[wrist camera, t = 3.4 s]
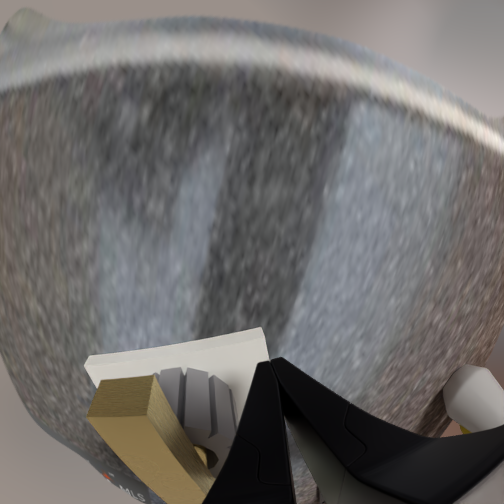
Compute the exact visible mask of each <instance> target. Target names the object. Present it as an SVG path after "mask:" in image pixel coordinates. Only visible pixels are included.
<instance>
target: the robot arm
mask: <svg viewBox="0 0 504 504" xmlns="http://www.w3.org/2000/svg"><path fill="white" fill-rule="evenodd" d="M284 417H285V419H284ZM285 420H286V422H287V425H288V427H289V429H290V431H291V433H292V435H293V437H294V439H295V442H296V444H297V446H298V448H299V450H300V452H301V454H302V456H303V458H304V460H305V462H306V464H307V466H308V468H309V470H310V472H311V474H312V476H313V478H314V480H315V482H316V484H317V486H318V488H319V504H323V503H326V504H504V424H503V425H501V426H498V427H495V428H492V429H488V430H483V431H478V432H473V433H468V434H462V435H456V436H450V437H442V438H431V437H425V436H421V435H418V434H416V433H413V432H410V431H408V430H405V429H403V428H400V427H398V426H395V425H393V424H390V423H388V422H386V421H383V420H381V419H379V418H377V417H375V416H373V415H371V414H369V413H367V412H365V411H364V410H362V409H360V408H358V407H357V406H355V405H354V404H352V403H350V402H349V401H347V400H345V399H344V398H342V397H341V396H339V395H338V394H336V393H335V392H333V391H331V390H330V389H328V388H327V387H325V386H324V385H322V384H321V383H319V382H318V381H316V380H315V379H313V378H312V377H310V376H309V375H307V374H306V373H304V372H303V371H302V370H300V369H299V368H297V367H296V366H294V365H293V364H291V363H290V362H289V361H287V360H286V359H284V358H283V357H279V358H275V359H271V360H270V361H269V360H267V361H263V362H259V363H257V365H256V369H255V372H254V375H253V379H252V382H251V385H250V389H249V392H248V395H247V399H246V402H245V405H244V408H243V411H242V415H241V418H240V421H239V424H238V427H237V430H236V435H235V436H234V439H233V442H232V445H231V448H230V450H229V453H228V456H227V458H226V460H225V462H224V464H223V466H222V468H221V470H220V472H219V474H218V476H217V477H216V479H215V481H214V483H213V485H212V486H211V488H210V490H209V492H208V493H207V495H206V497H205V499H204V500H203V502H202V503H201V504H297V503H296V496H295V489H294V481H293V474H292V467H291V460H290V453H289V446H288V439H287V432H286V425H285Z"/></svg>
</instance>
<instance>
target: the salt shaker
mask: <svg viewBox="0 0 504 504" xmlns="http://www.w3.org/2000/svg"><path fill="white" fill-rule="evenodd" d="M443 399H444V402H445V407H446V411H447V414H448V415H449V417H450V418H451V419H453V420H454V421H456V422H457V423H458V424H460V425H461V426H463V427H464V428H466V429H467V430H469V431H470V432H472V433H473V432H478V431H483V430H488V429H492V428H495V427H498V426H501V425H503V424H504V390H503V389H502V388H501V386H500V385H499V383H498V382H497V381H496V379H495V378H494V377H493V375H492V374H491V372H490V371H489V370H488V369H486V368H483V367H477V366H473V365H468V364H465V365H464V366H462V367H461V368H460V369H458V370H457V371H456V372H454V373H453V375H452V376H451V378H450V379H449V380H448V382H447V383H446V385H445V386H444V388H443Z"/></svg>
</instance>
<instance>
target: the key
mask: <svg viewBox="0 0 504 504" xmlns="http://www.w3.org/2000/svg"><path fill="white" fill-rule="evenodd" d="M86 418H87V419H88V420H89V422H90V423H91V424H92V425H93V427H94V428H95V429H96V431H97V432H98V433H99V434H100V436H101V437H102V438H103V439H104V440H105V442H106V443H107V444H108V445H109V446H110V448H111V449H112V450H113V451H114V452H115V453H116V454H117V455H118V457H119V458H120V459H121V460H122V461H123V462H124V463H125V464H126V465H127V466H128V467H129V468H130V469H131V470H132V471H133V472H134V473H135V474H136V475H137V476H138V477H139V478H140V479H141V480H142V481H143V482H144V483H145V484H146V485H147V486H148V487H149V488H150V489H151V490H152V491H153V492H155V493H156V494H157V495H158V496H159V497H160V498H161V499H162V500H164V501H165V502H166V503H167V504H201V503H202V502H203V500H204V499H205V497H206V495H207V493H208V492H209V490H210V488H211V486H212V485H213V483H214V481H215V478H214V477H213V475H212V474H211V473H210V471H209V470H208V468H207V452H206V447H204V446H202V445H198V444H192V443H191V442H190V440H189V438H188V437H187V435H186V433H185V432H184V430H183V428H182V426H181V425H180V423H179V421H178V419H177V418H176V416H175V414H174V412H173V410H172V409H171V407H170V405H169V403H168V401H167V399H166V397H165V395H164V393H163V391H162V389H161V387H160V385H159V383H158V381H157V379H156V377H155V375H148V376H139V377H129V378H118V379H105V380H101V381H100V383H99V386H98V388H97V391H96V393H95V396H94V398H93V401H92V403H91V406H90V409H89V411H88V414H87V416H86Z"/></svg>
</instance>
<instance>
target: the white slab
mask: <svg viewBox="0 0 504 504" xmlns="http://www.w3.org/2000/svg"><path fill="white" fill-rule="evenodd" d="M267 360H269V357H268V352H267V346H266V341H265V336H264V334H263V331H262V328H261V327H258V328H254V329H249V330H245V331H240V332H236V333H231V334H226V335H221V336H216V337H211V338H206V339H201V340H196V341H190V342H185V343H179V344H173V345H167V346H161V347H154V348H147V349H140V350H133V351H126V352H118V353H109V354H100V355H91V356H89V357H88V359H87V361H86V363H85V365H84V367H85V369H86V370H87V372H88V374H89V376H90V377H91V379H92V381H93V383H94V384H95V386H96V388H98V386H99V383H100V381H101V380H105V379H118V378H129V377H139V376H148V375H155V377H156V379H157V381H158V383H159V385H160V387H161V389H162V391H163V393H164V395H165V397H166V399H167V401H168V403H169V405H170V407H171V409H172V410H173V412H174V414H175V416H176V418H177V419H178V421H179V423H180V425H181V426H182V428H183V430H184V432H185V433H186V435H187V437H188V438H189V440H190V442H191V443H192V444H198V445H202V446H204V447H206V452H207V468H208V470H209V471H210V473H211V474H212V475H213V477H214V478H216V477H217V476H218V474H219V472H220V470H221V468H222V466H223V464H224V462H225V460H226V458H227V456H228V453H229V450H230V448H231V445H232V442H233V439H234V436H235V435H236V430H237V427H238V424H239V421H240V418H241V415H242V411H243V408H244V405H245V402H246V399H247V395H248V392H249V389H250V385H251V382H252V379H253V375H254V372H255V369H256V365H257V363H259V362H263V361H267Z"/></svg>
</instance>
